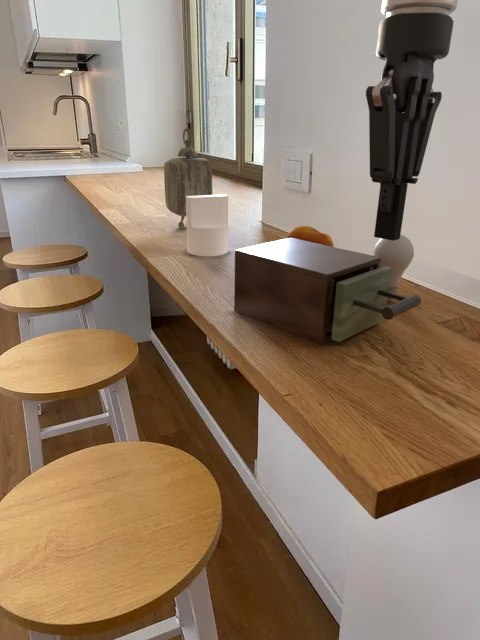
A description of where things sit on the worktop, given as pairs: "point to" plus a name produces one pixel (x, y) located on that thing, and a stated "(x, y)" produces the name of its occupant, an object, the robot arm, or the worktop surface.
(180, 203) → the cowbell
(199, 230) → the base with upright slab
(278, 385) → the worktop surface
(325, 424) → the worktop surface
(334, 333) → the drawer
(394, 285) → the lightbulb
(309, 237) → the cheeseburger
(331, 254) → the cabinet
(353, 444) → the worktop surface
